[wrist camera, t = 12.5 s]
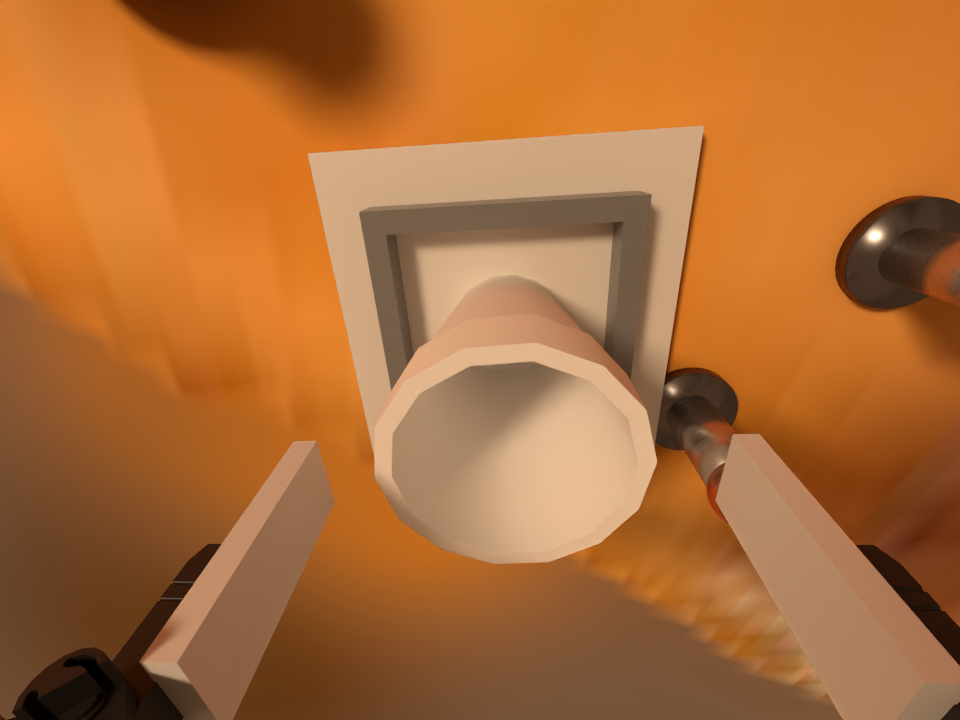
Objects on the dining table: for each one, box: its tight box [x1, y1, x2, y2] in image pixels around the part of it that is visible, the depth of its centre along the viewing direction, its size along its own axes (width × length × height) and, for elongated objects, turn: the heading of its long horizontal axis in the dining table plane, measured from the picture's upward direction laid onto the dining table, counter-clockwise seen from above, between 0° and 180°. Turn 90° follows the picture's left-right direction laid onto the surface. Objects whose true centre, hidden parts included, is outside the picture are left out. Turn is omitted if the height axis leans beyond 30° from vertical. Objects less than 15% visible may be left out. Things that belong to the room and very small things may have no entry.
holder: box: [308, 126, 704, 457], centre depth 25 cm, size 20×20×3 cm
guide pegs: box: [649, 196, 960, 524], centre depth 22 cm, size 6×20×10 cm, turn 139°
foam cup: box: [375, 274, 657, 564], centre depth 20 cm, size 10×9×13 cm
